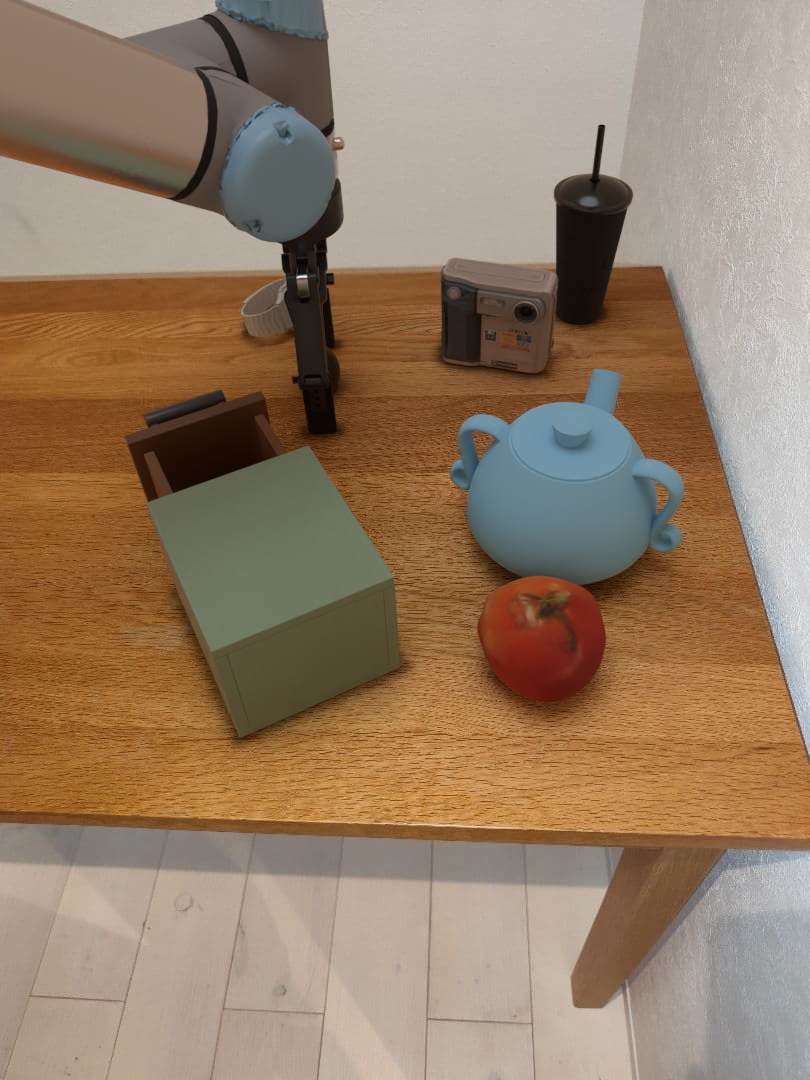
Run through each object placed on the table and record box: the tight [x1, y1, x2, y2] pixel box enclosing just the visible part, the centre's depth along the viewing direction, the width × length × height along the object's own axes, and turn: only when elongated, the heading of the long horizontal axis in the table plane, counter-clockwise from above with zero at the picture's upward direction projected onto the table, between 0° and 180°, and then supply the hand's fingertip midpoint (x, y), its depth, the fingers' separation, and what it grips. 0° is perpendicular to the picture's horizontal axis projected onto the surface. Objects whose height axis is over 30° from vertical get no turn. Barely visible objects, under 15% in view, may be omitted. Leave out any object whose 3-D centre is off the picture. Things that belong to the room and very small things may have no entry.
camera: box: [440, 257, 558, 374], centre depth 89 cm, size 11×6×10 cm, turn 70°
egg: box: [326, 346, 341, 391], centre depth 88 cm, size 4×4×5 cm
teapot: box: [449, 368, 685, 586], centre depth 72 cm, size 20×20×13 cm
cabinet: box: [145, 445, 401, 739], centre depth 66 cm, size 15×13×11 cm
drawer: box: [124, 388, 288, 503], centre depth 73 cm, size 19×12×9 cm, turn 27°
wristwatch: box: [240, 277, 294, 338], centre depth 96 cm, size 9×6×5 cm
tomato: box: [476, 576, 607, 704], centre depth 64 cm, size 9×9×8 cm
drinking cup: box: [553, 124, 634, 325], centre depth 90 cm, size 8×8×20 cm
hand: (322, 385), depth 90 cm, fingers open, 13 cm apart
